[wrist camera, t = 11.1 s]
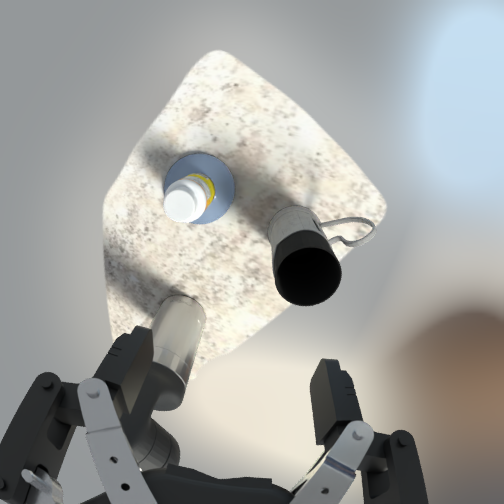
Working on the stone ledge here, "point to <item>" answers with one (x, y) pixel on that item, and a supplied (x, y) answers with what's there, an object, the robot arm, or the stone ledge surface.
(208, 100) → the stone ledge surface
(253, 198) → the stone ledge surface
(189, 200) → the supplement bottle
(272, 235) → the tall grey black mug
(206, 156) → the coaster
